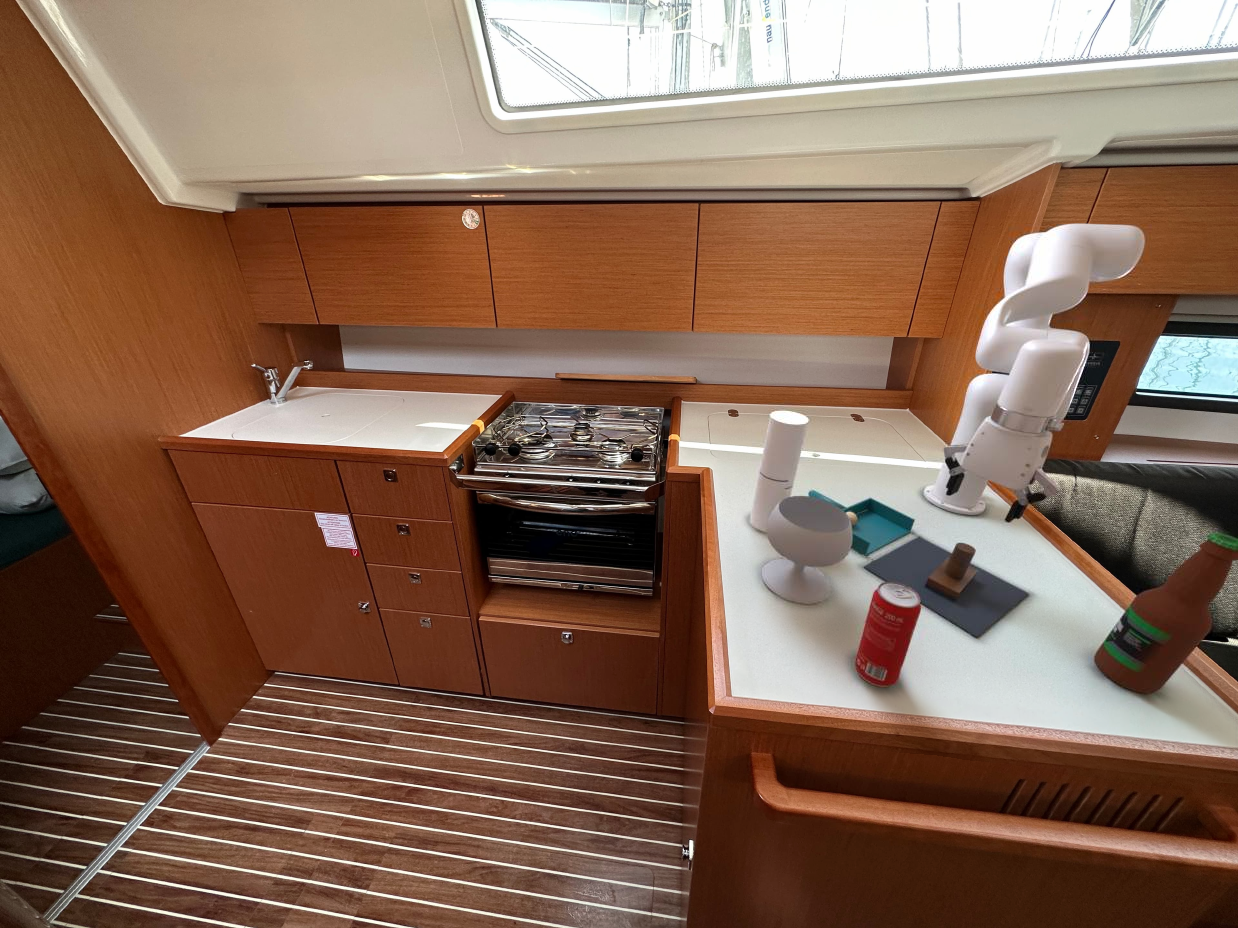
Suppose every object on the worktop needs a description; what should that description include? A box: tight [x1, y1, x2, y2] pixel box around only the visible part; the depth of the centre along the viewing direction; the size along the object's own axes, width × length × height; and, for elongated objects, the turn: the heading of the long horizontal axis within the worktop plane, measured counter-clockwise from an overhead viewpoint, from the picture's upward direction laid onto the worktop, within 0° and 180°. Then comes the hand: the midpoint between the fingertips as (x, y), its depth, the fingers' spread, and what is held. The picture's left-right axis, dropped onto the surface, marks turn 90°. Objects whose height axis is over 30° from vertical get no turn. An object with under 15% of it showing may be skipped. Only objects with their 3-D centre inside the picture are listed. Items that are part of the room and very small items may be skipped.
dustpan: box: [807, 489, 916, 557], centre depth 105 cm, size 20×17×3 cm
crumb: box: [846, 512, 857, 525], centre depth 103 cm, size 3×3×3 cm
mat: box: [862, 536, 1030, 639], centre depth 88 cm, size 20×20×1 cm
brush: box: [925, 542, 978, 602], centre depth 85 cm, size 10×5×8 cm, turn 129°
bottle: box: [1093, 532, 1238, 694], centre depth 65 cm, size 7×7×25 cm
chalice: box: [761, 495, 853, 604], centre depth 83 cm, size 14×14×15 cm
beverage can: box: [854, 581, 922, 688], centre depth 66 cm, size 6×6×15 cm
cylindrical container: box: [749, 410, 809, 533], centre depth 98 cm, size 7×7×25 cm
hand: (979, 506), depth 84 cm, fingers open, 9 cm apart
